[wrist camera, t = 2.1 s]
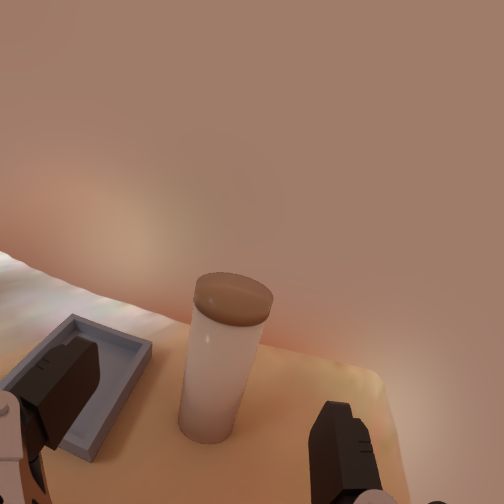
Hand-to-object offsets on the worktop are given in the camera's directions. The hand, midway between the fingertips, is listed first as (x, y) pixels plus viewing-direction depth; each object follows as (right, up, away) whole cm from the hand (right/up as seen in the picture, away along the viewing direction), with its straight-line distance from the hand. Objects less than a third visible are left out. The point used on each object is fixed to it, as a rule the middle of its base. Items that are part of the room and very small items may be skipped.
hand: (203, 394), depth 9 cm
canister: (-3, -11, +16) cm, 19 cm away
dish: (-15, -8, +15) cm, 23 cm away
